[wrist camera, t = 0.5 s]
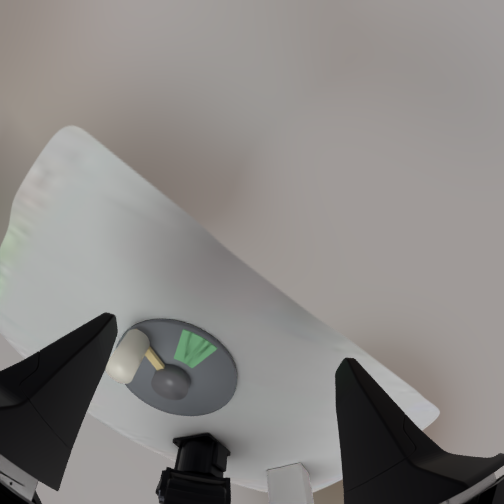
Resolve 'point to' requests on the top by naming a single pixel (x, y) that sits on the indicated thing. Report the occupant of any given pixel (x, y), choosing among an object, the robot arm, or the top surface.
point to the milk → (289, 485)
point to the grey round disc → (186, 367)
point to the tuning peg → (165, 377)
